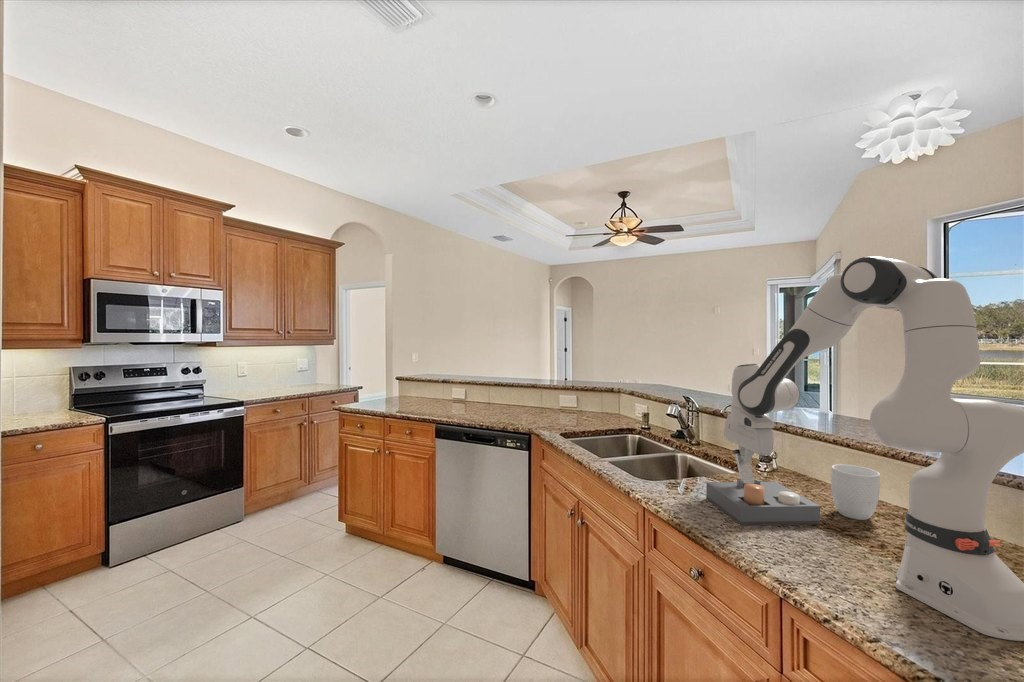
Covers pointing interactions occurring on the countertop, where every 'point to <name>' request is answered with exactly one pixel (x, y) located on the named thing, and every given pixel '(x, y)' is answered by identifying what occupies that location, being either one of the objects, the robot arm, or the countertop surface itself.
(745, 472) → the lever
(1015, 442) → the robot arm
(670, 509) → the countertop surface
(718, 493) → the console
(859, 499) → the mug
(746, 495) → the terracotta button
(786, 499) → the white button
